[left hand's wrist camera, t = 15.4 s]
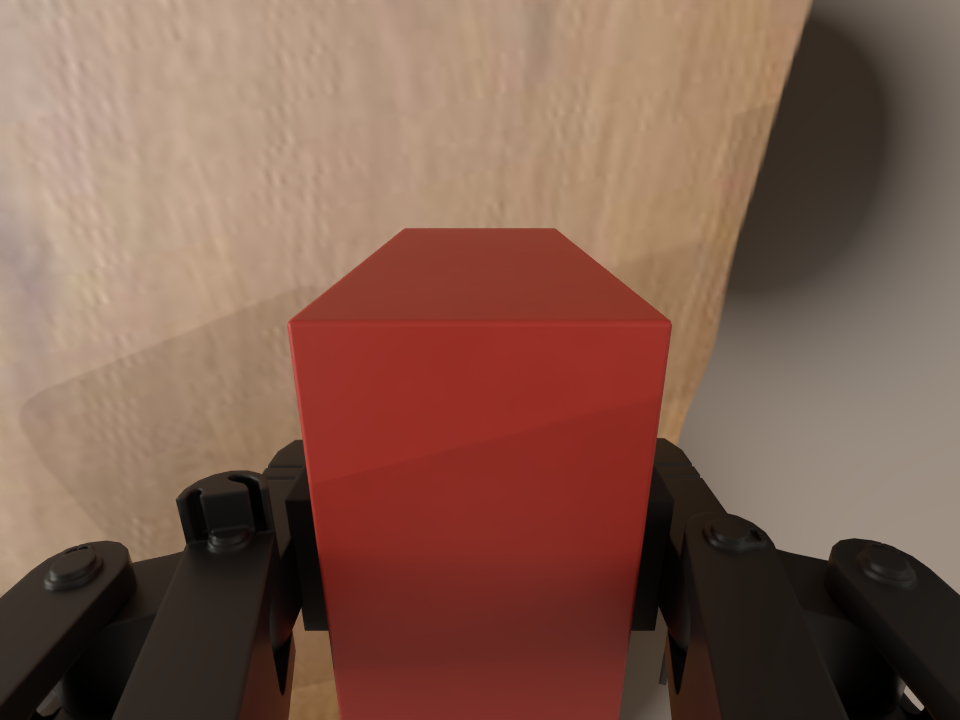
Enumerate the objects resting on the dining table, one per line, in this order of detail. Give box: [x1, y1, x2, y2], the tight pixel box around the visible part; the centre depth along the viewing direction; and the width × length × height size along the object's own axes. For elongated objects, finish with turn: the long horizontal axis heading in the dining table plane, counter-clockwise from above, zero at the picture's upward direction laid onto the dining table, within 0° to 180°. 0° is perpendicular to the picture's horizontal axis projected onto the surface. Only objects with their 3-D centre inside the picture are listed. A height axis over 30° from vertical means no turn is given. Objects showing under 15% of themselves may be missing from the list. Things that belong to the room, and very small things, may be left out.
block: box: [287, 228, 672, 720], centre depth 12 cm, size 9×5×10 cm, turn 0°
